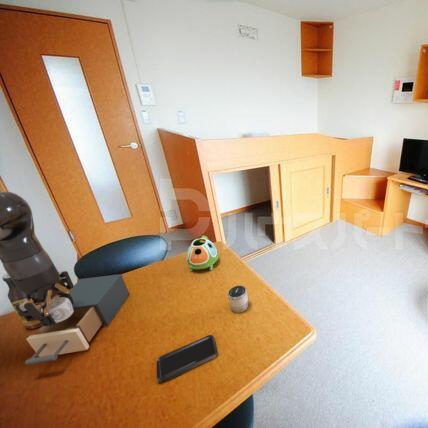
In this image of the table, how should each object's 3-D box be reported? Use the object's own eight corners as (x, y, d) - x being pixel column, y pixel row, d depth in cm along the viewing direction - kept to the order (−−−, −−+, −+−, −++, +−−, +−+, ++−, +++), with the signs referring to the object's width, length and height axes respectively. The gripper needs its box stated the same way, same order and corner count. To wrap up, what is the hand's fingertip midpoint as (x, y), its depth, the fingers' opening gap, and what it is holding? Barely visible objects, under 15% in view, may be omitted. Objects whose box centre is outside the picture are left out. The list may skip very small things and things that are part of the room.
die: (73, 306, 72) (66, 294, 70) (73, 316, 69) (65, 304, 67) (50, 315, 69) (41, 302, 67) (48, 326, 66) (39, 313, 64)
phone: (156, 357, 68) (212, 333, 75) (157, 360, 68) (213, 335, 75) (156, 383, 62) (217, 354, 69) (158, 385, 62) (218, 356, 69)
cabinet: (108, 325, 78) (97, 304, 74) (62, 332, 76) (48, 310, 72) (129, 293, 91) (121, 274, 87) (91, 299, 89) (80, 278, 85)
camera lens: (250, 300, 89) (248, 283, 86) (246, 313, 84) (243, 296, 80) (233, 300, 89) (230, 284, 86) (228, 313, 83) (224, 296, 80)
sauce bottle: (25, 333, 75) (-11, 285, 67) (28, 321, 79) (-5, 273, 71) (54, 322, 79) (24, 275, 71) (56, 311, 83) (27, 265, 75)
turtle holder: (221, 249, 120) (217, 228, 115) (216, 271, 104) (211, 248, 99) (194, 252, 117) (189, 231, 112) (185, 275, 101) (179, 252, 96)
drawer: (73, 369, 65) (60, 350, 61) (22, 378, 62) (5, 359, 59) (112, 313, 82) (103, 296, 78) (72, 319, 79) (62, 302, 76)
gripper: (36, 254, 67) (63, 298, 74) (-16, 289, 54) (22, 338, 61) (68, 251, 69) (91, 294, 76) (25, 285, 56) (57, 333, 63)
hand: (60, 314), depth 69 cm, fingers closed on die, 6 cm apart
